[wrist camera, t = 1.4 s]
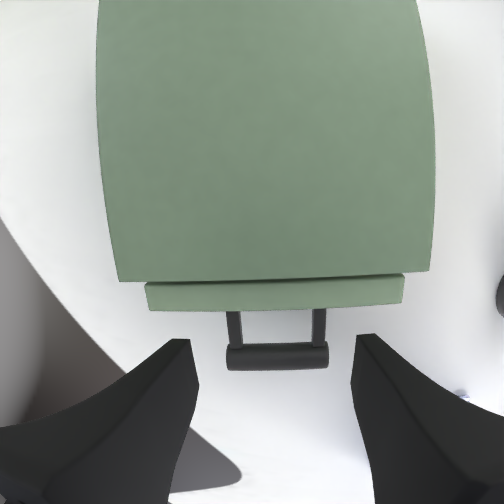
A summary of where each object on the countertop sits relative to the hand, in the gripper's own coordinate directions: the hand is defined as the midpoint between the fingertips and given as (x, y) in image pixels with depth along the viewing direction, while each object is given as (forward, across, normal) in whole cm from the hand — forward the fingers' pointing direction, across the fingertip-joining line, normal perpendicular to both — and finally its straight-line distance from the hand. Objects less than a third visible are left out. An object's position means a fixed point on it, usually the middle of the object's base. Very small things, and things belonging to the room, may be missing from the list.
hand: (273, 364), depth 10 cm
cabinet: (+9, 0, -9) cm, 13 cm away
